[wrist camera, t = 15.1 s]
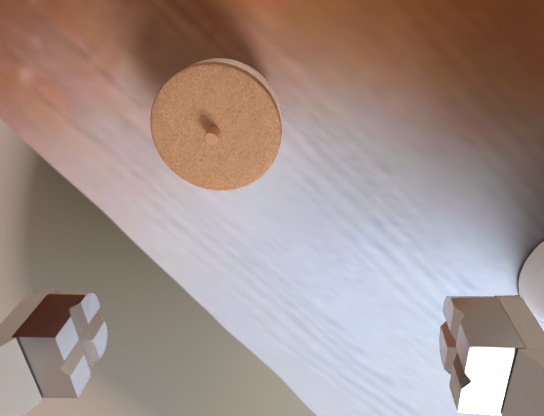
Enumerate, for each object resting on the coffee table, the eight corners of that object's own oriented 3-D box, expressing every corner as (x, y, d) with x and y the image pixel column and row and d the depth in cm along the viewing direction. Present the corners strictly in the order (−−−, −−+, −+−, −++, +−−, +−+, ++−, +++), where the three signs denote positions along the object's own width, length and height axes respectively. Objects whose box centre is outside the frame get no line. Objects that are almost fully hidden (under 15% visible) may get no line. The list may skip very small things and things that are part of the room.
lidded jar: (154, 113, 44) (118, 147, 36) (215, 21, 40) (190, 36, 32) (242, 177, 47) (227, 222, 39) (309, 97, 42) (308, 129, 34)
